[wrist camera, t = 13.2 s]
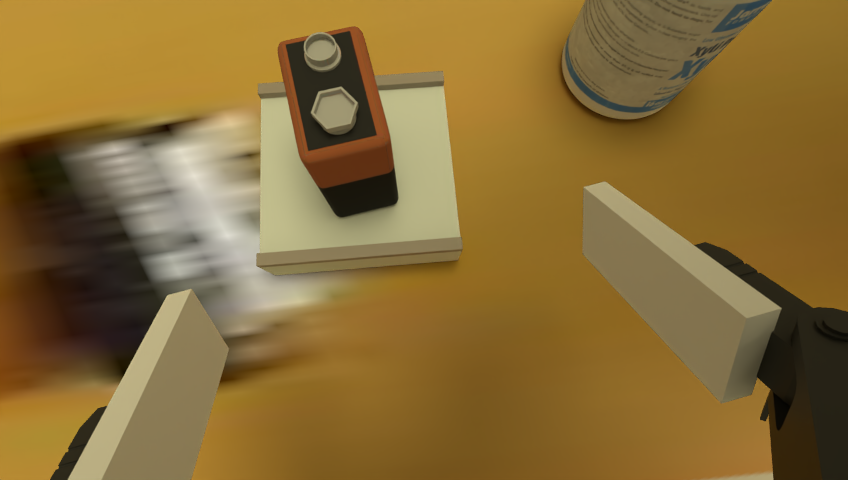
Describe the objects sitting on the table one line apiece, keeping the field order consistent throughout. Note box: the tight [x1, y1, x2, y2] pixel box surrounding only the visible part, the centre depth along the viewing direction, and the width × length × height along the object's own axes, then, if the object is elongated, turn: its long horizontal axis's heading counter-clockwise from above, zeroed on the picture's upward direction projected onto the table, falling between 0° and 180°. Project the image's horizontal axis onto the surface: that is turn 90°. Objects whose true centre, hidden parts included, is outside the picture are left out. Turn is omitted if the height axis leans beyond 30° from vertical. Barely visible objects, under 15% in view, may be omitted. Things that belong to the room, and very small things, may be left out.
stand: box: [257, 71, 463, 275], centre depth 30 cm, size 13×13×4 cm
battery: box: [278, 27, 398, 217], centre depth 24 cm, size 4×7×10 cm, turn 15°
